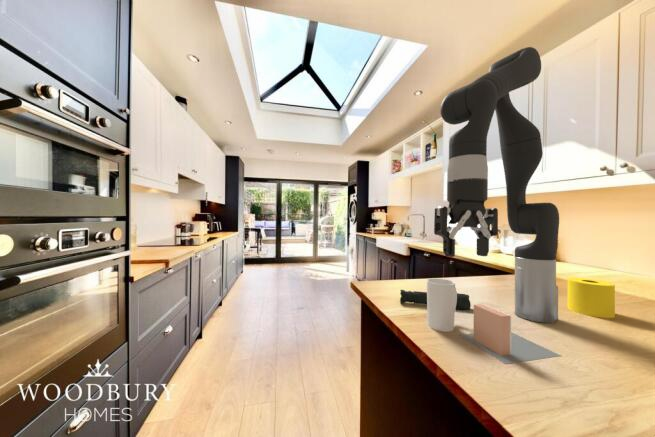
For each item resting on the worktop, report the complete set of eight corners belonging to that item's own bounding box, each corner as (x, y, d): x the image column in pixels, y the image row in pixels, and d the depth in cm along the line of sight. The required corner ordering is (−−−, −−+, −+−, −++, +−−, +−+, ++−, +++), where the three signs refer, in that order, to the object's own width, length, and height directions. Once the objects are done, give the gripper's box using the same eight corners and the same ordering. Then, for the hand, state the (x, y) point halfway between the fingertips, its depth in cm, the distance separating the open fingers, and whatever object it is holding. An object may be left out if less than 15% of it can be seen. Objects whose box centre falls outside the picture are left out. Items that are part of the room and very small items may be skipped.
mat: (506, 331, 62) (506, 329, 62) (561, 357, 50) (561, 355, 50) (459, 336, 59) (458, 335, 59) (505, 366, 47) (505, 363, 47)
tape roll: (625, 318, 71) (625, 285, 71) (590, 317, 71) (590, 285, 71) (589, 306, 81) (589, 277, 81) (558, 305, 81) (558, 277, 81)
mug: (443, 335, 59) (444, 286, 59) (420, 325, 65) (421, 280, 65) (468, 327, 64) (468, 281, 64) (445, 318, 70) (445, 276, 70)
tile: (482, 338, 57) (482, 304, 57) (511, 354, 50) (511, 315, 50) (473, 339, 56) (473, 304, 57) (501, 355, 50) (501, 316, 50)
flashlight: (471, 313, 74) (471, 296, 74) (400, 305, 80) (400, 290, 81) (466, 307, 79) (466, 292, 79) (400, 301, 85) (400, 286, 85)
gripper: (480, 184, 58) (479, 253, 57) (426, 180, 54) (425, 254, 54) (510, 178, 50) (509, 258, 50) (450, 174, 47) (449, 259, 47)
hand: (465, 256), depth 52 cm, fingers open, 7 cm apart
